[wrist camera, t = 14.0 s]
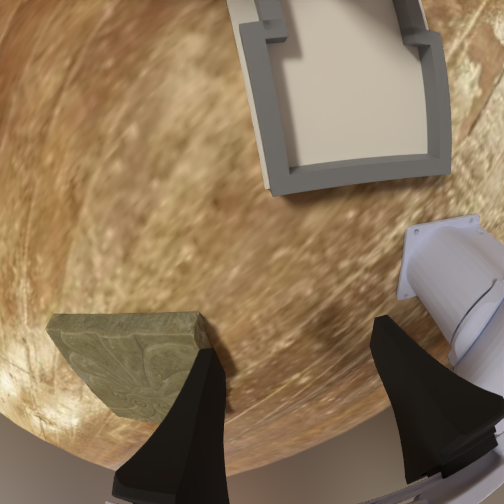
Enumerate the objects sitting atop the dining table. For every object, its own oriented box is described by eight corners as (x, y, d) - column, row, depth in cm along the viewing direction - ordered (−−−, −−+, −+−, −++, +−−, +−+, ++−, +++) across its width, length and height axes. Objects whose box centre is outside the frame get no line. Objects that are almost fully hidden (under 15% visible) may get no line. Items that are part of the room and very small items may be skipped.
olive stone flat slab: (120, 402, 35) (115, 420, 32) (52, 310, 25) (39, 332, 22) (236, 406, 35) (237, 427, 32) (206, 304, 24) (202, 334, 21)
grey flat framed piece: (385, -70, 6) (398, -80, 4) (435, 165, 18) (453, 174, 15) (206, -77, 7) (203, -93, 5) (264, 185, 18) (267, 197, 16)
